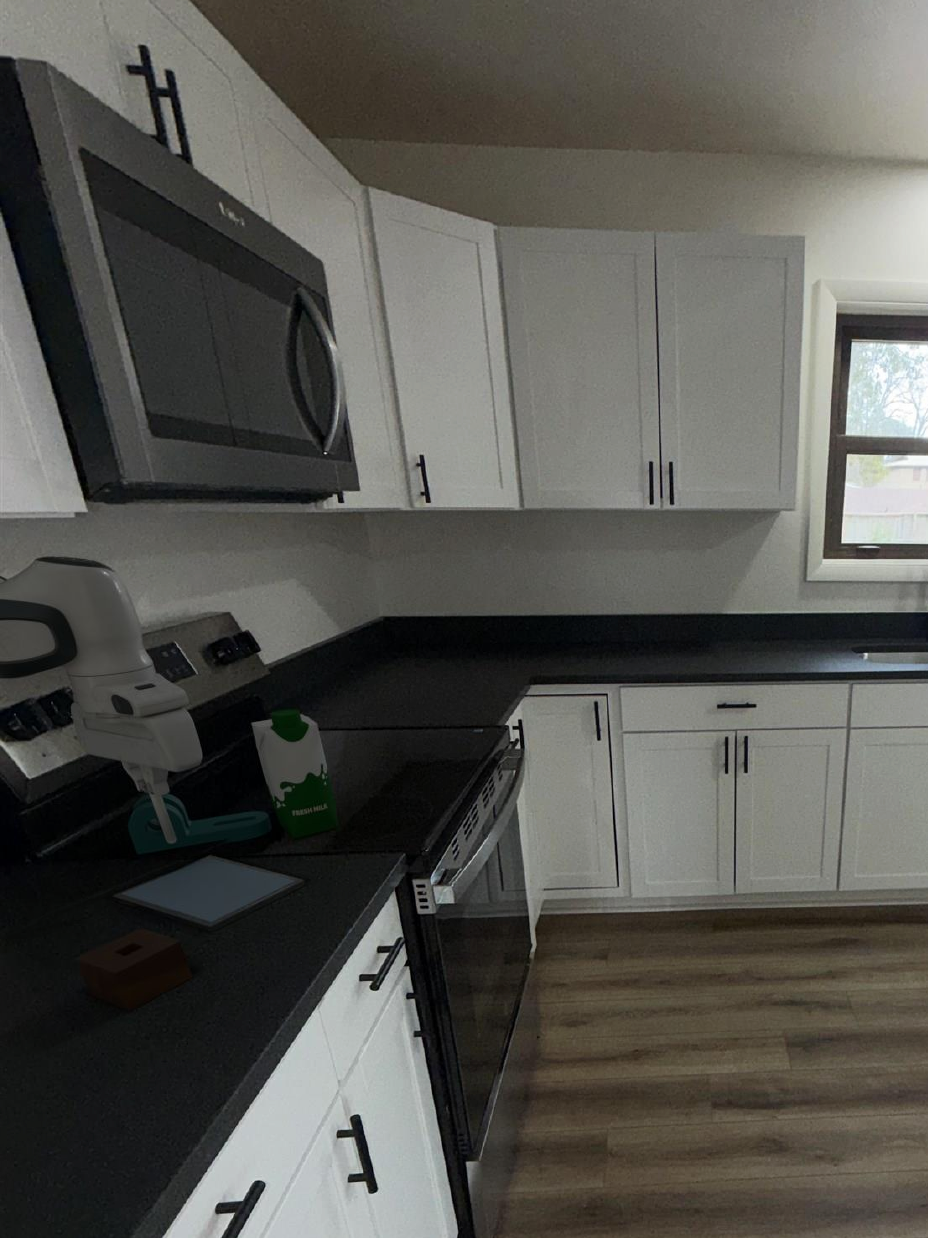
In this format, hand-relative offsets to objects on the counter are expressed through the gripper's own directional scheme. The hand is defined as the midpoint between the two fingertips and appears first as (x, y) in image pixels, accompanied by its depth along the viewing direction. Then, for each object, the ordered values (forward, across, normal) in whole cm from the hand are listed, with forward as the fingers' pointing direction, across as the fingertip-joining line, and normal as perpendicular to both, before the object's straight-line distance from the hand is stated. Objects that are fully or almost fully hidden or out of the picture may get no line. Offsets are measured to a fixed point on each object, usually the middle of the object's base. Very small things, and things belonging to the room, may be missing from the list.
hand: (154, 792), depth 104 cm
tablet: (+14, +6, 0) cm, 15 cm away
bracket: (+14, -12, +12) cm, 22 cm away
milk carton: (+14, -1, +22) cm, 26 cm away
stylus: (+8, 0, 0) cm, 8 cm away
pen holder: (+14, +20, -18) cm, 30 cm away
